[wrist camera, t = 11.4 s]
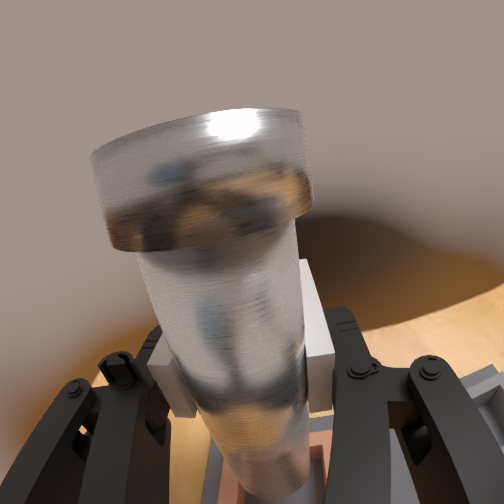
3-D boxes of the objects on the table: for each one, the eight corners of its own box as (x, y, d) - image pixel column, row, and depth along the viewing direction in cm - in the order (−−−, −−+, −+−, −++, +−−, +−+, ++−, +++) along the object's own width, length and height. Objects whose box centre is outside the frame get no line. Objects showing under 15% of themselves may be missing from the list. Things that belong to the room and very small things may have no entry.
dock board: (488, 371, 18) (500, 345, 17) (541, 465, 5) (565, 442, 4) (218, 430, 21) (206, 408, 20) (196, 565, 8) (175, 562, 7)
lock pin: (314, 431, 14) (291, 124, 8) (321, 502, 9) (323, 95, 3) (232, 437, 14) (144, 153, 9) (224, 505, 9) (44, 168, 4)
